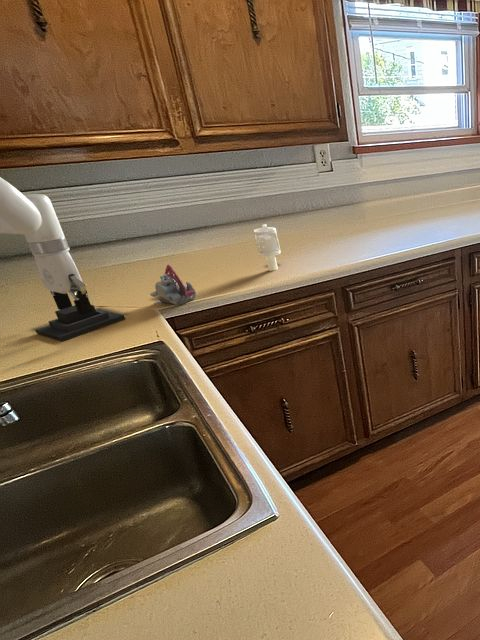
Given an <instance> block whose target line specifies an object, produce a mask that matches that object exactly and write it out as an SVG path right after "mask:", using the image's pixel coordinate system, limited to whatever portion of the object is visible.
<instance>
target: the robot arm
mask: <svg viewBox="0 0 480 640" xmlns="http://www.w3.org/2000/svg"><path fill="white" fill-rule="evenodd" d="M60 223H61V222H60V220H59V219H58V216H57V213H56V211H55V208H54V206H53V203H52V201H51V199H50V197H48V195H45V194H43V193H31V194H30V193H29V194H23V193H22V192H21V191H20V190H18V189H17V187H15V186H13V184H11V183H9V182H8V181H7V180H5V179H4V178H2V177H1V176H0V235H24V238H25V240H26V242H27V245H28V247H29V249H30V252H31V254H32V256H33V257H34V261H35V264H36V268H37V271H38V273H39V276H40V280H41V281H42V284H43V286H44V288H45V289H46V290H48V291H49V292H50V294H51V295H52V297H53V300H54V302H55V305H56V307H57V309H58V310H61V309H65V308H68V307H71V306H73V304H72V301H71V299H70V296H71V297H72V298H73V299H74V300H73V303H74V305H75V306H76V308H77V311H78V313H79V315H84V314H87V313H90V312H93V309H92V306H91V305H92V304H91V301H90V299H89V294H88V290H87V286H86V285H87V284H85V282H84V281H83V279H82V276H81V274H80V272H79V269H78V267H77V265H76V263H75V261H74V259H73V258H72V255H71V254H70V250H71V249H70V246H69V243H68V241H67V239H66V236H65V234H64V231H63V229H62V226H61V224H60ZM69 294H70V296H69Z"/></svg>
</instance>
